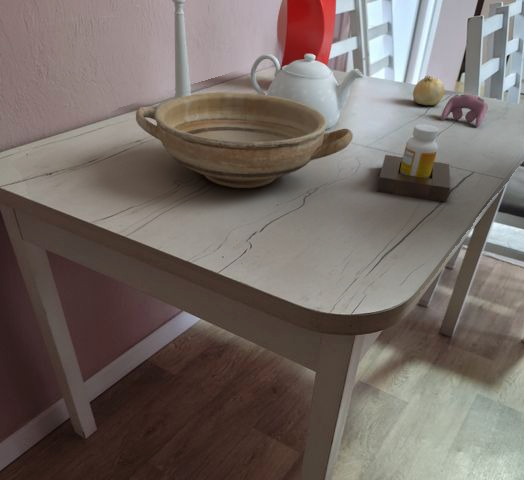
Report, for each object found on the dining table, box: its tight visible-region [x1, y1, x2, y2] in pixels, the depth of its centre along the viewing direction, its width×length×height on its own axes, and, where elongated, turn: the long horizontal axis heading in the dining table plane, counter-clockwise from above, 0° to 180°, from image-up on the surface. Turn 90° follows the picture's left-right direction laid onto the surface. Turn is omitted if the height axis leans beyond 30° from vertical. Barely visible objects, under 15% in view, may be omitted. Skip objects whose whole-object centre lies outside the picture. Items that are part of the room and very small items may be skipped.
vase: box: [276, 0, 337, 70], centre depth 127 cm, size 15×14×28 cm
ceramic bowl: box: [135, 91, 354, 189], centre depth 84 cm, size 37×29×10 cm
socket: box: [376, 154, 451, 203], centre depth 87 cm, size 12×12×2 cm
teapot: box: [249, 53, 364, 130], centre depth 109 cm, size 19×18×14 cm
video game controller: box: [440, 93, 489, 128], centre depth 119 cm, size 10×5×7 cm, turn 58°
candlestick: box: [155, 0, 192, 110], centre depth 105 cm, size 13×13×30 cm
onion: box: [412, 74, 446, 106], centre depth 128 cm, size 8×8×7 cm
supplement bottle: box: [399, 123, 439, 178], centre depth 85 cm, size 5×5×10 cm
